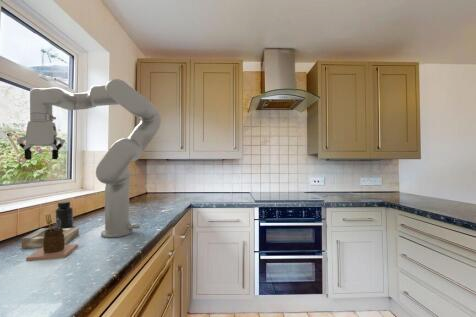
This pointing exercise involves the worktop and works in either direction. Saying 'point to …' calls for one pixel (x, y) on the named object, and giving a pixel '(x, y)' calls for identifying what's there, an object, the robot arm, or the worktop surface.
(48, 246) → the utensil holder
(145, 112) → the robot arm
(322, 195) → the worktop surface
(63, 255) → the terracotta tile
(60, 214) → the supplement bottle
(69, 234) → the wooden tray
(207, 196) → the worktop surface
